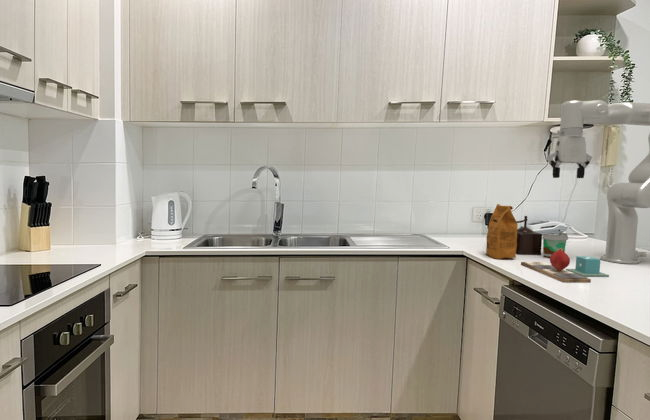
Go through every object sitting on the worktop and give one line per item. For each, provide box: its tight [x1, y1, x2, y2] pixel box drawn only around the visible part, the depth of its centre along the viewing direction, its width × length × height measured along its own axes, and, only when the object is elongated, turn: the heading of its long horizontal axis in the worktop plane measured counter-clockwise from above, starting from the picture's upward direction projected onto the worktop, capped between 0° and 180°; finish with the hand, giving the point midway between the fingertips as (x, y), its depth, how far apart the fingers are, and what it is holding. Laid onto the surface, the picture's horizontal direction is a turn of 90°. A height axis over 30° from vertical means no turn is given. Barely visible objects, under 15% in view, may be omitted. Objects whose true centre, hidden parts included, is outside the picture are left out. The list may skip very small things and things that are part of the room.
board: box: [520, 261, 592, 283], centre depth 137 cm, size 9×25×1 cm, turn 2°
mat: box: [565, 268, 610, 278], centre depth 136 cm, size 9×9×1 cm
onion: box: [549, 248, 571, 271], centre depth 133 cm, size 6×6×8 cm
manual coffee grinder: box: [516, 215, 543, 256], centre depth 173 cm, size 16×11×18 cm
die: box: [574, 255, 601, 274], centre depth 136 cm, size 5×5×5 cm
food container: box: [542, 231, 569, 259], centre depth 163 cm, size 12×6×10 cm, turn 117°
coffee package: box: [485, 203, 519, 260], centre depth 162 cm, size 10×12×22 cm
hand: (568, 177), depth 152 cm, fingers open, 9 cm apart
